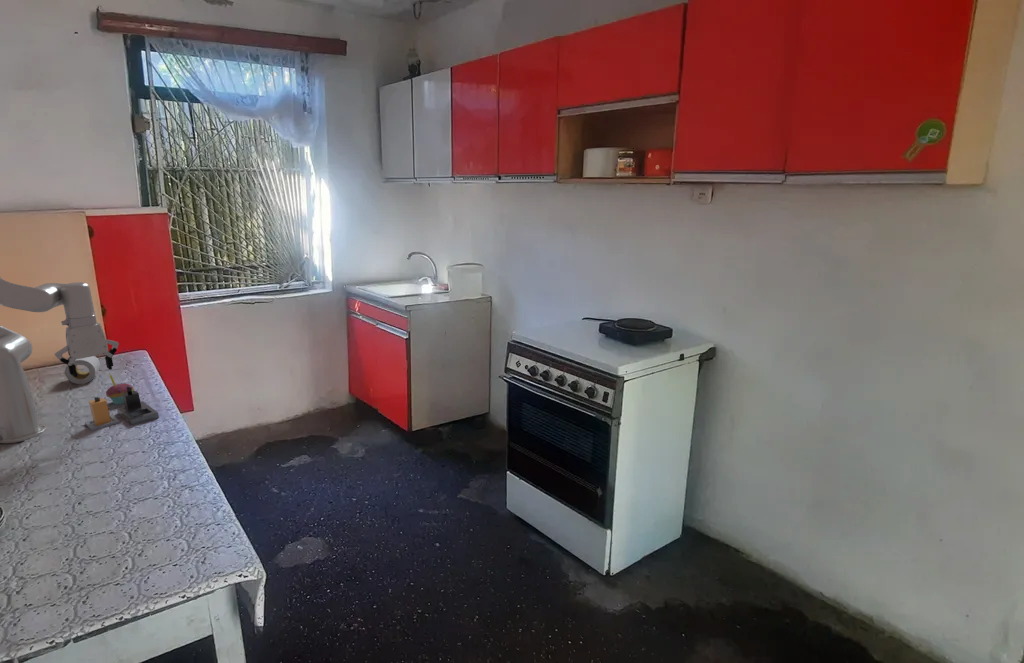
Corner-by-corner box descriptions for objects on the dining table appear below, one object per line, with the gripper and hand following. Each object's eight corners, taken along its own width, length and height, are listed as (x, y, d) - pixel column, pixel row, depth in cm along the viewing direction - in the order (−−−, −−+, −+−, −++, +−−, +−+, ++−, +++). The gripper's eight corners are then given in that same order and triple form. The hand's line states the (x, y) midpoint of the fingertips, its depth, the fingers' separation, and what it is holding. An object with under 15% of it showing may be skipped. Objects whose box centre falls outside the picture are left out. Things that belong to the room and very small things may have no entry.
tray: (92, 431, 190) (91, 428, 189) (85, 425, 195) (84, 422, 195) (120, 424, 196) (119, 420, 195) (113, 417, 201) (112, 414, 200)
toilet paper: (73, 378, 243) (68, 355, 240) (102, 374, 247) (97, 351, 244) (67, 385, 234) (62, 362, 231) (97, 381, 238) (92, 358, 235)
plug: (97, 426, 192) (91, 400, 190) (93, 423, 195) (88, 397, 193) (111, 422, 195) (105, 397, 193) (107, 419, 198) (102, 394, 195)
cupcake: (113, 409, 209) (106, 377, 206) (104, 403, 214) (97, 372, 211) (140, 401, 215) (133, 370, 212) (130, 396, 220) (124, 366, 217)
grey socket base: (159, 419, 199) (154, 391, 196) (132, 426, 193) (126, 398, 190) (143, 407, 209) (138, 381, 207) (118, 414, 203) (112, 387, 201)
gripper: (51, 328, 178) (63, 381, 182) (116, 318, 190) (126, 368, 195) (45, 325, 183) (57, 376, 187) (109, 315, 195) (119, 363, 200)
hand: (92, 372), depth 191 cm, fingers open, 9 cm apart
